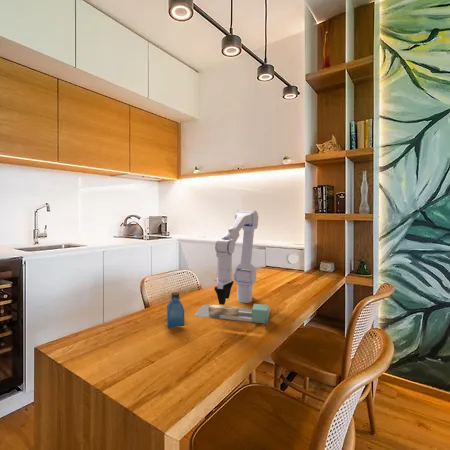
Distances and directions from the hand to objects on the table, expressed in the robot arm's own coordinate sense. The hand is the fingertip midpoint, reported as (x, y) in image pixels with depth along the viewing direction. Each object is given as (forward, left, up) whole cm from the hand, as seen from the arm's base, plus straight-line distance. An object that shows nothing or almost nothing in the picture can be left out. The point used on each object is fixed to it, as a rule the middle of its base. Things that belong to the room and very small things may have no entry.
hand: (224, 301), depth 119 cm
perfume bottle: (+11, -17, -7) cm, 21 cm away
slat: (0, 0, -6) cm, 6 cm away
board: (-3, +3, -7) cm, 8 cm away
